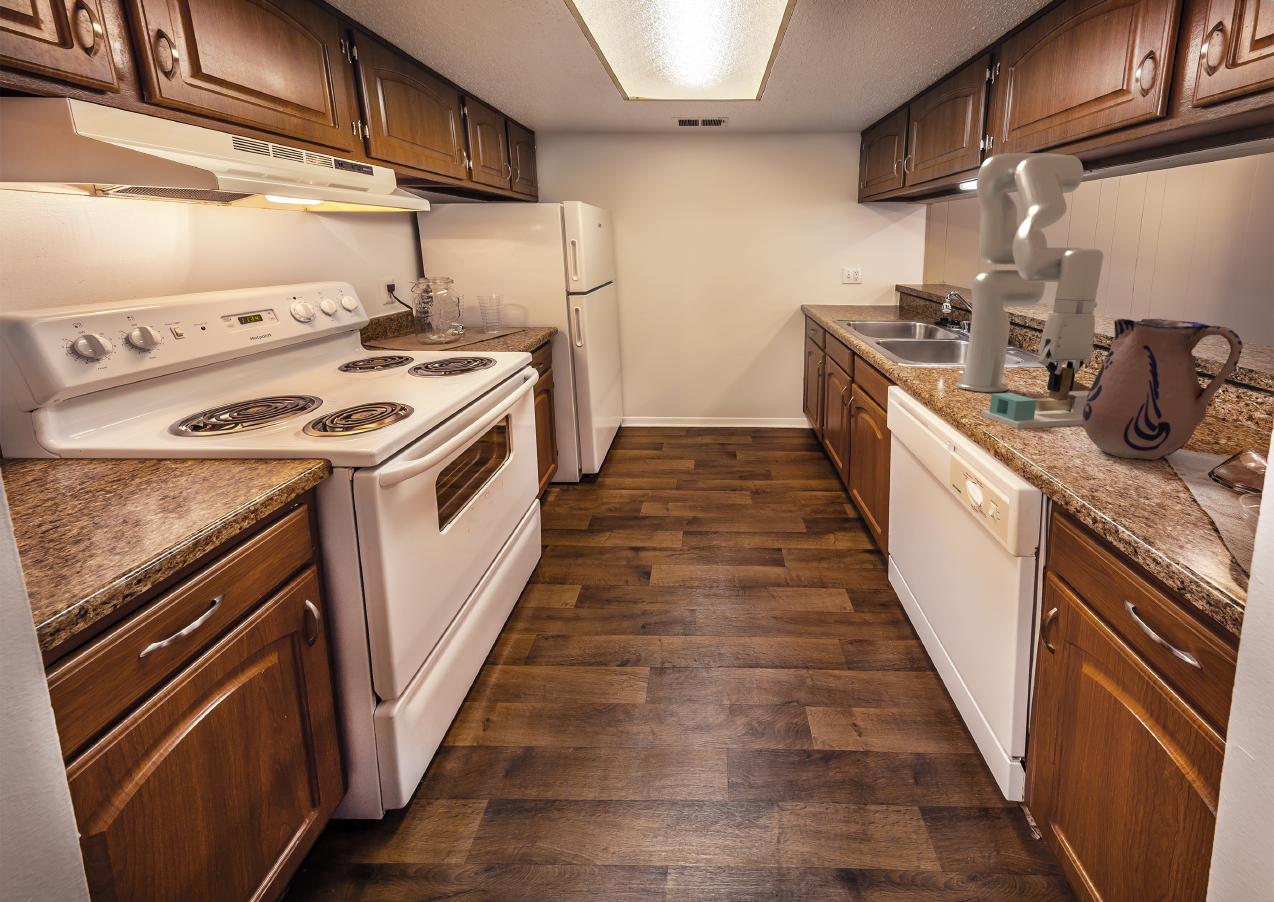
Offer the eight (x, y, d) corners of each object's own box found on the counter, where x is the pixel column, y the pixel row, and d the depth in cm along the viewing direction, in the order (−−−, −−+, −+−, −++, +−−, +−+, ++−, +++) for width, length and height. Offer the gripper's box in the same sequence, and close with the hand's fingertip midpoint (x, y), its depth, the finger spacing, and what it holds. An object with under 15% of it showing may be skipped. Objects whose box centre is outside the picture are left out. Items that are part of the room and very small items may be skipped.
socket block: (1008, 411, 160) (1011, 392, 158) (1033, 419, 152) (1036, 400, 151) (989, 412, 159) (991, 393, 157) (1013, 420, 151) (1016, 401, 150)
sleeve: (1083, 409, 161) (1087, 390, 160) (1099, 413, 157) (1102, 394, 156) (1057, 410, 160) (1060, 392, 159) (1072, 415, 156) (1075, 396, 155)
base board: (1077, 410, 166) (1078, 405, 165) (1119, 422, 154) (1120, 417, 154) (980, 415, 161) (981, 410, 161) (1017, 428, 150) (1018, 423, 149)
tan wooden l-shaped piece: (1094, 405, 161) (1101, 365, 158) (1104, 408, 158) (1112, 367, 155) (1030, 408, 158) (1036, 368, 155) (1039, 411, 155) (1046, 370, 152)
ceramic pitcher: (1083, 436, 143) (1106, 314, 136) (1213, 454, 131) (1246, 321, 123) (1069, 455, 130) (1093, 322, 123) (1212, 478, 118) (1249, 330, 110)
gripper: (1091, 305, 156) (1077, 385, 161) (1028, 307, 153) (1016, 388, 158) (1119, 308, 149) (1103, 392, 154) (1054, 310, 146) (1040, 395, 151)
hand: (1059, 389), depth 156 cm, fingers closed on tan wooden l-shaped piece, 2 cm apart
